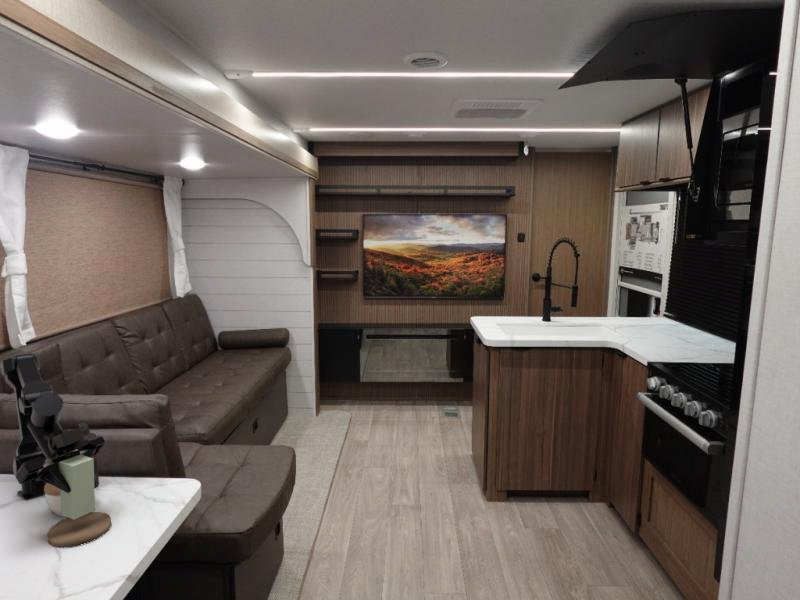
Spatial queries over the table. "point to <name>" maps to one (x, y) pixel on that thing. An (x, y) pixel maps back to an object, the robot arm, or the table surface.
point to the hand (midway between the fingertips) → (81, 486)
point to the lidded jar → (53, 498)
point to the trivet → (79, 530)
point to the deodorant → (81, 442)
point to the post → (78, 486)
